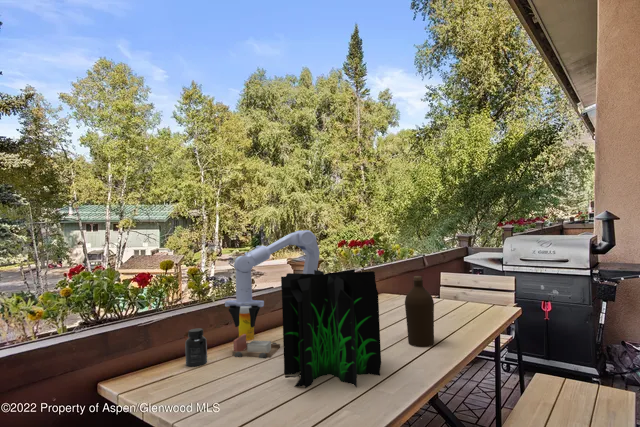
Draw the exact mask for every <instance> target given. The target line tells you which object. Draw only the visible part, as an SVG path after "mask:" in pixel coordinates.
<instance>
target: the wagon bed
mask: <svg viewBox="0 0 640 427" xmlns="http://www.w3.org/2000/svg"><path fill="white" fill-rule="evenodd" d="M249 343H250V342H246V348H245V349H244V350H243V351H234V350H233V351H232V357H234V358H242V357H243V358H245V357H246V358H258V359H267V358H268V359H270V358H271V357H273V356H274V355H275V354H276V353H277V352H278V351H279V350H280V349H281V343H276V342H271V351H270V352H269V353H267V352H248V347H247V345H248V344H249Z"/></svg>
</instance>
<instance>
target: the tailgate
mask: <svg viewBox="0 0 640 427" xmlns="http://www.w3.org/2000/svg"><path fill="white" fill-rule="evenodd" d="M246 343H247V341H246V334H243V335H241V336H240V337H239V336H238V337H237V338H235V339H233V351H241V352H242V351H243V350H245V349H246V348H247V347H246Z"/></svg>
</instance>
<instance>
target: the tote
mask: <svg viewBox="0 0 640 427" xmlns="http://www.w3.org/2000/svg"><path fill="white" fill-rule="evenodd" d="M248 343H249V344H248V345H247V347H248V352H267V353H269V352H270V351H271V344H272V341H271V340H251V341H250V342H248ZM247 347H246V348H247Z"/></svg>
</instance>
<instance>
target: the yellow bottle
mask: <svg viewBox="0 0 640 427" xmlns="http://www.w3.org/2000/svg"><path fill="white" fill-rule="evenodd" d="M249 308H251V306H240V313H239V321H240V324H239V326H238V337H240V336H241V335H243V334H246V342H247V341H253V340H254V339H255V326H254V327H251V325H250V313H249Z"/></svg>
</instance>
